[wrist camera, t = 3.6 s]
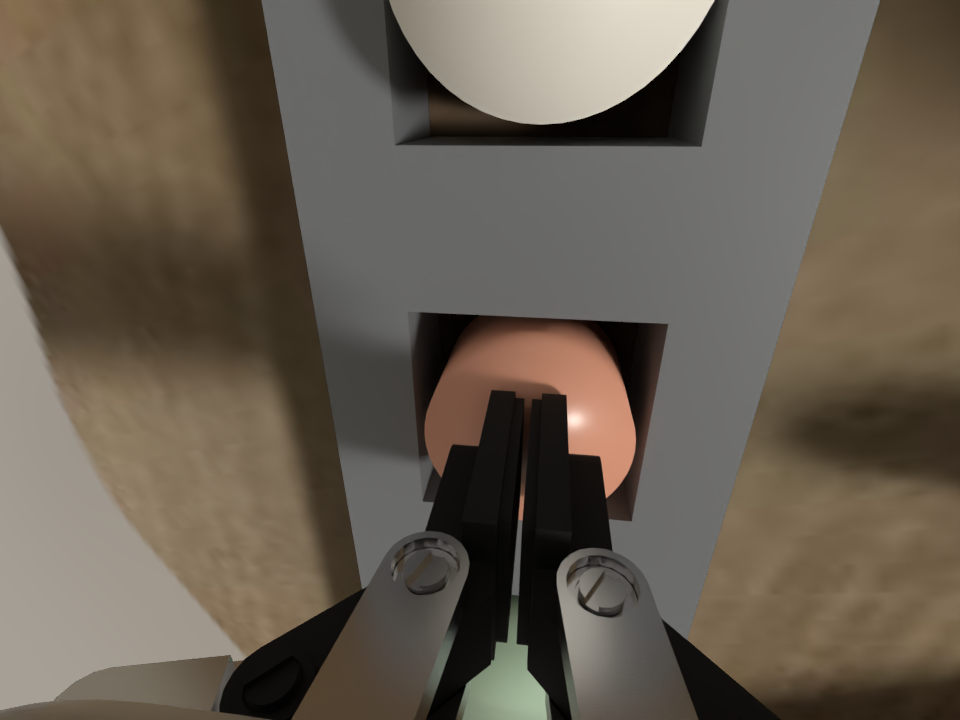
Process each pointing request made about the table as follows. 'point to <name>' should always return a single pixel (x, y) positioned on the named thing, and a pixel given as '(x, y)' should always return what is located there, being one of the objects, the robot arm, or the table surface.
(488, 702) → the sage button
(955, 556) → the table surface
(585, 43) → the cream button
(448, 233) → the button panel
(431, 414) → the terracotta button
